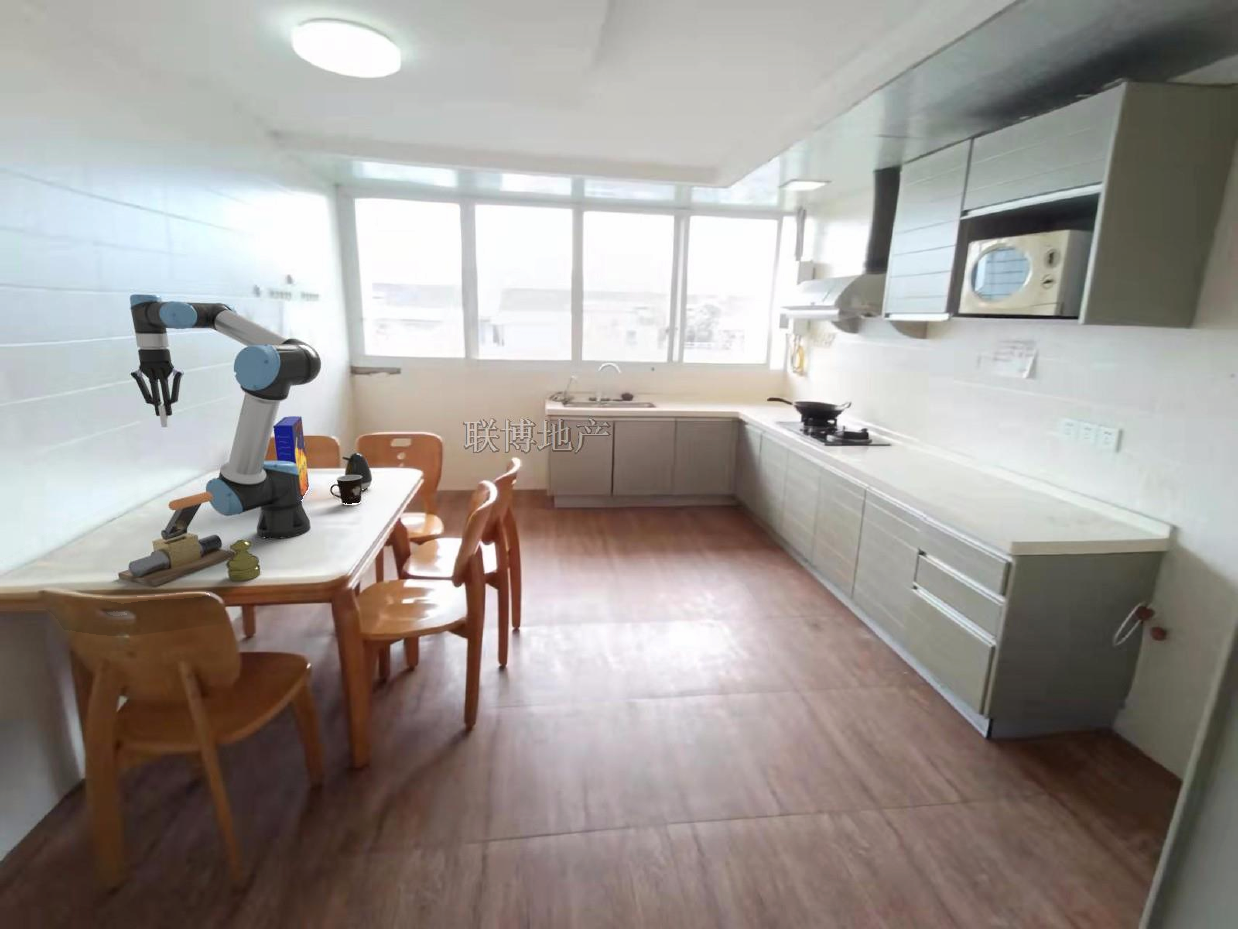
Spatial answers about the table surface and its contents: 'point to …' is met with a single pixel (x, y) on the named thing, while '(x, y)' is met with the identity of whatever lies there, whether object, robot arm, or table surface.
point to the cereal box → (292, 447)
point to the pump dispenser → (359, 468)
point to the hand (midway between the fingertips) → (166, 426)
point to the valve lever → (183, 514)
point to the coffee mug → (349, 488)
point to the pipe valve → (176, 559)
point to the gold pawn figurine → (242, 562)
